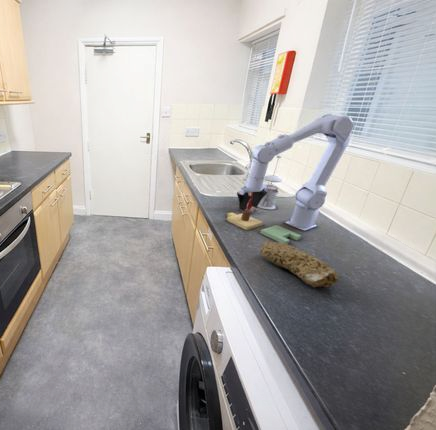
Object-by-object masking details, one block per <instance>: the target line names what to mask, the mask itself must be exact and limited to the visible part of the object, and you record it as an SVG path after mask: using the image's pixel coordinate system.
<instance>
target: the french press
mask: <svg viewBox="0 0 436 430" xmlns="http://www.w3.org/2000/svg"><path fill="white" fill-rule="evenodd" d="M275 157H276V159H277V160H276V161H277V162H276V165H275V168H274V172H273V175H271V174H269V175H265V178H264V181H267V182H270V183H268V184H266V185H267V188H266V190H264V191H266V192H267V194H266V195H265V196H264V197H263V198H262V200H261V201H260V203H259V204H258V206H257V207H258V208H259V209H263V210H276V208H277V207H276V202H277V201H276V200H277V197H278V195H279V187H278V186H276V185H274V184H272V183H281V182H282V181H283V179H282V178H281V177H279V176H276V175H275V173H276V170H277V166H278V163H279V159H282V155H280V154H278V155H276V156H275ZM257 207H256V208H257Z"/></svg>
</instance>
